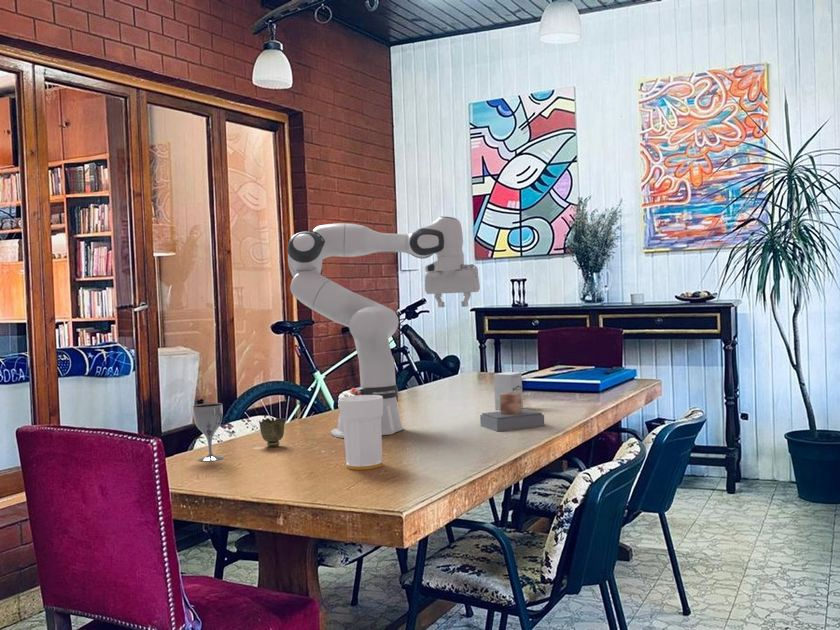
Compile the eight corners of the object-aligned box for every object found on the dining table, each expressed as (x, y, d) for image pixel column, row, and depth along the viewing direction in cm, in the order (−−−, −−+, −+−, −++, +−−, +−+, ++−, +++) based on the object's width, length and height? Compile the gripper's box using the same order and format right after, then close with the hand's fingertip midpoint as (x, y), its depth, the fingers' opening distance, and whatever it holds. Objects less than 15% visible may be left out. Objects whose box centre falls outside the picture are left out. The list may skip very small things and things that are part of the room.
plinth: (497, 431, 258) (496, 418, 258) (480, 425, 269) (479, 413, 269) (544, 425, 263) (543, 412, 263) (526, 420, 275) (525, 408, 275)
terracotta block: (500, 414, 265) (499, 394, 265) (506, 411, 269) (505, 392, 269) (516, 414, 263) (515, 394, 263) (521, 411, 267) (520, 392, 267)
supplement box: (512, 411, 296) (511, 374, 296) (494, 410, 301) (492, 374, 300) (523, 407, 302) (522, 372, 302) (505, 406, 307) (504, 371, 306)
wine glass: (200, 456, 242) (197, 403, 242) (228, 455, 242) (225, 402, 241) (192, 462, 234) (188, 407, 234) (221, 461, 234) (217, 406, 233)
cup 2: (391, 467, 214) (387, 398, 214) (347, 472, 211) (343, 402, 211) (380, 459, 225) (377, 393, 225) (338, 464, 222) (334, 397, 221)
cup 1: (278, 449, 247) (276, 421, 247) (255, 448, 250) (254, 421, 250) (290, 444, 254) (289, 417, 254) (268, 443, 257) (267, 417, 257)
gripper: (482, 263, 282) (484, 305, 283) (432, 266, 295) (434, 307, 295) (471, 263, 277) (474, 306, 278) (421, 267, 290) (423, 308, 290)
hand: (453, 307), depth 287 cm, fingers open, 8 cm apart
